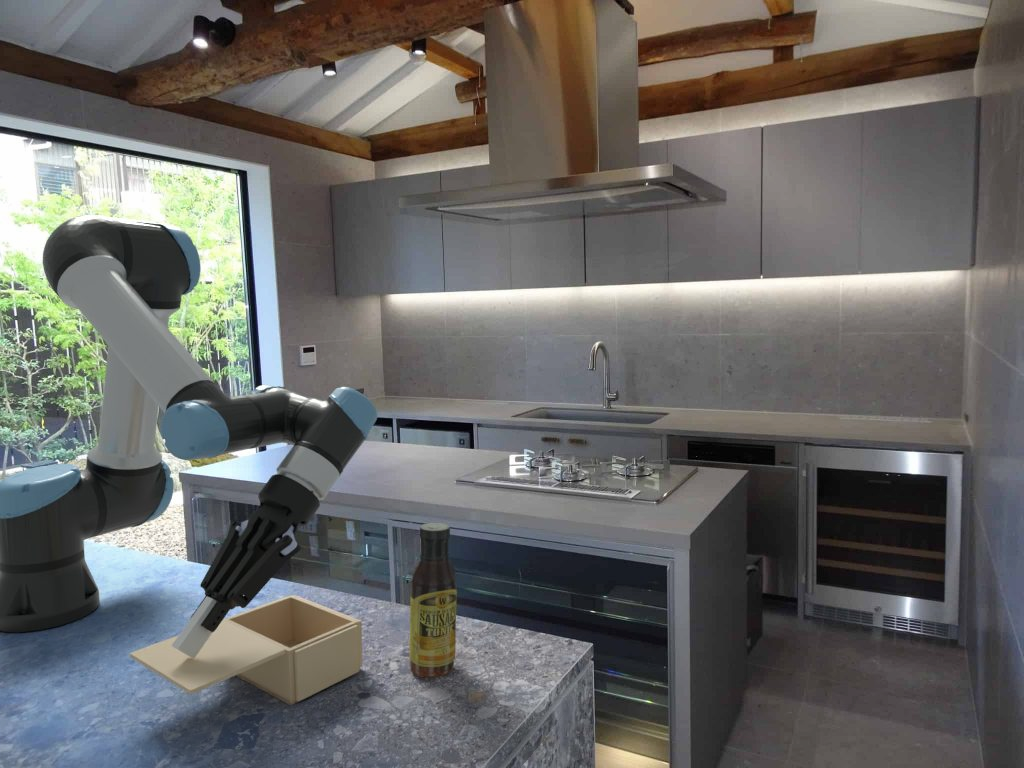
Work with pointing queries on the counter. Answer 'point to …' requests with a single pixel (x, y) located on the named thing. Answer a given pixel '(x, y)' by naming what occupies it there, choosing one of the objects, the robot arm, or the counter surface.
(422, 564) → the sauce bottle
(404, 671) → the counter surface
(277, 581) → the counter surface
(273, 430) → the robot arm
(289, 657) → the wooden box
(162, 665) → the flap
